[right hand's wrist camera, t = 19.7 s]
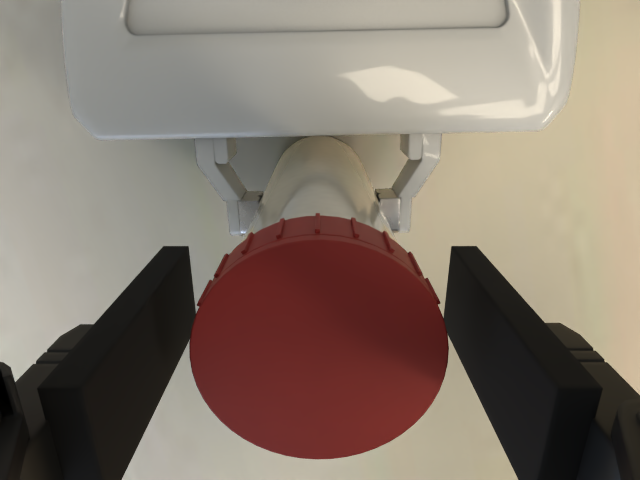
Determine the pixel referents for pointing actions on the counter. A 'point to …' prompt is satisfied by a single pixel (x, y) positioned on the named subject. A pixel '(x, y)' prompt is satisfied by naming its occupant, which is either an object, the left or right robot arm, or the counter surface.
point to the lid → (319, 339)
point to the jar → (319, 186)
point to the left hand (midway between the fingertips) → (320, 230)
